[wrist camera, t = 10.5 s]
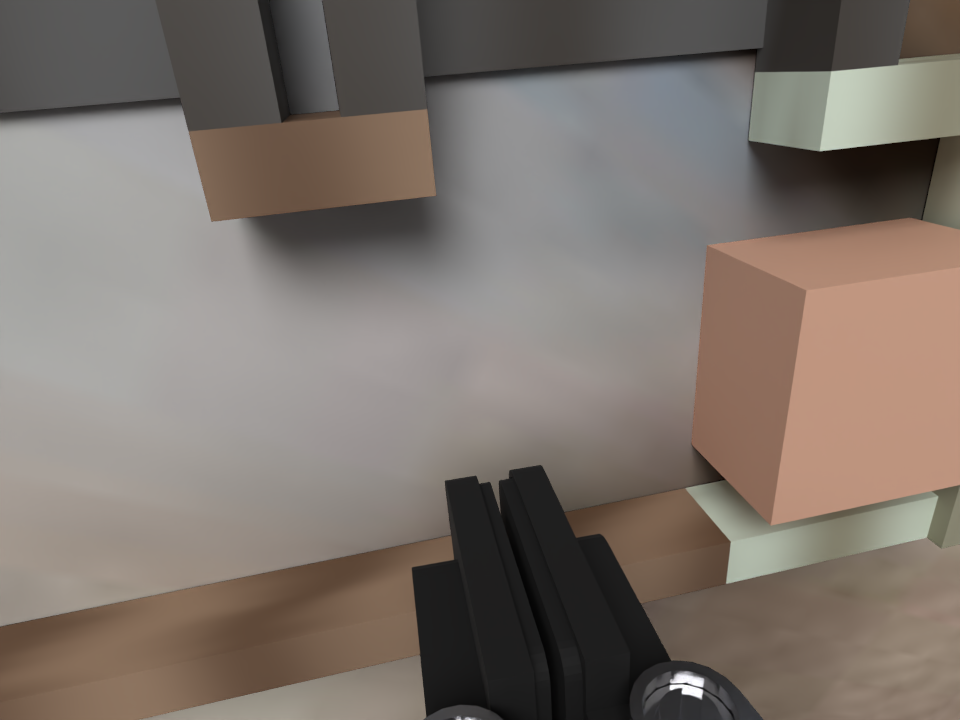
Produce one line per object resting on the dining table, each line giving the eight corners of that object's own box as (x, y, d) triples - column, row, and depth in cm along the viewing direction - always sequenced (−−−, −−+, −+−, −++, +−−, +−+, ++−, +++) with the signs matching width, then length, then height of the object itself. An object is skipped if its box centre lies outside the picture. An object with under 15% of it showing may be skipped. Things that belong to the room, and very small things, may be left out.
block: (904, 216, 17) (1053, 253, 14) (864, 407, 20) (981, 480, 16) (703, 243, 16) (806, 290, 13) (688, 440, 19) (770, 525, 15)
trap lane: (1133, -443, 12) (1359, -590, 9) (902, 480, 21) (985, 538, 19) (-1187, -574, 7) (-2109, -969, 4) (-190, 712, 16) (-293, 839, 13)
